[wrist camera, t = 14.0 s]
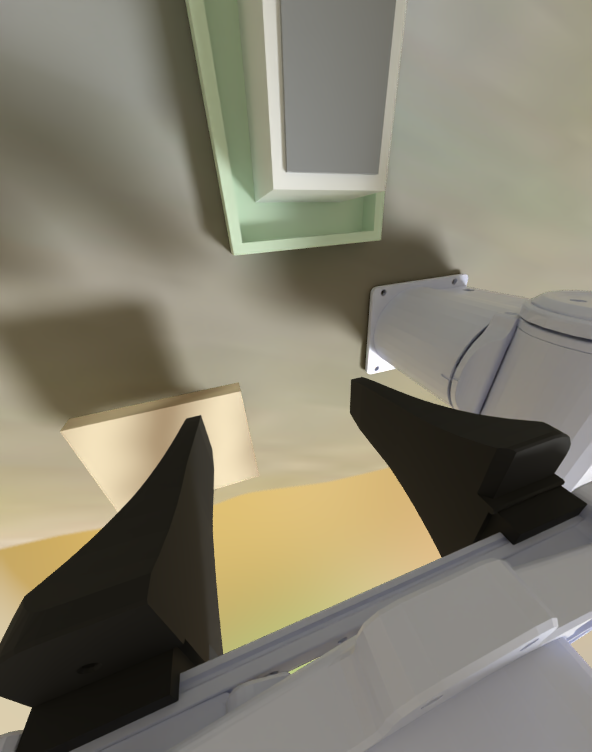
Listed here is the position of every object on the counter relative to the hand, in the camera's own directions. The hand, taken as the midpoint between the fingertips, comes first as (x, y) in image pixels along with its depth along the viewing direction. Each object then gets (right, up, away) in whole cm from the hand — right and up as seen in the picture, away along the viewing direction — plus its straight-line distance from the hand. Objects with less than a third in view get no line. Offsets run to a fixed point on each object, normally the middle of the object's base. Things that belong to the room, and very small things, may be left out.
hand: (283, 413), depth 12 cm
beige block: (-8, 0, +8) cm, 12 cm away
